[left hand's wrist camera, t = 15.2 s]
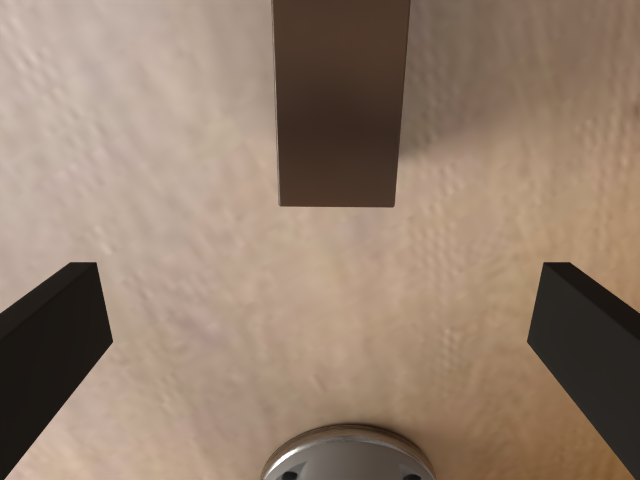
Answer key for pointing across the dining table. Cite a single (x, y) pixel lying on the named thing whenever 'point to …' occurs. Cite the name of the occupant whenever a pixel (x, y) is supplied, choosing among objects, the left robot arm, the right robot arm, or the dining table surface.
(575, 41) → the dining table surface
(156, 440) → the dining table surface
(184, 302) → the dining table surface
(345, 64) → the beam
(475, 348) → the dining table surface
